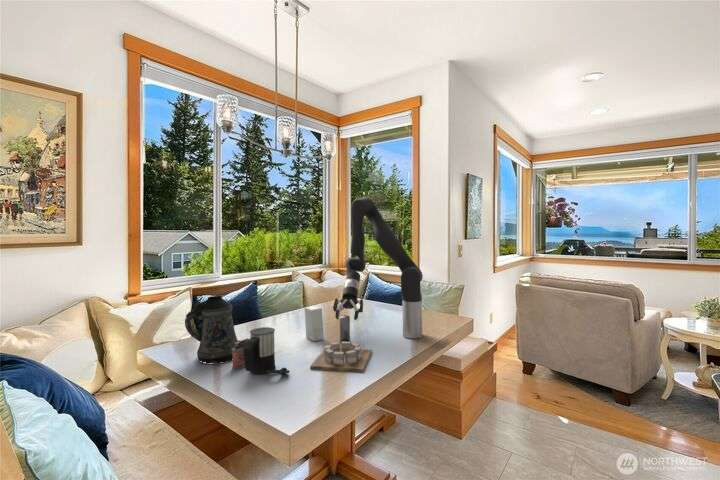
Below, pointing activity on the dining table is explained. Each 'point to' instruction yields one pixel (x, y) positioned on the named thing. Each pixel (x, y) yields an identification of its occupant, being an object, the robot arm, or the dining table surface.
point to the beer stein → (213, 330)
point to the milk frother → (261, 352)
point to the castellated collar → (342, 358)
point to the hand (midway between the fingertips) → (346, 319)
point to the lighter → (238, 354)
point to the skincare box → (314, 323)
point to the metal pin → (344, 328)
